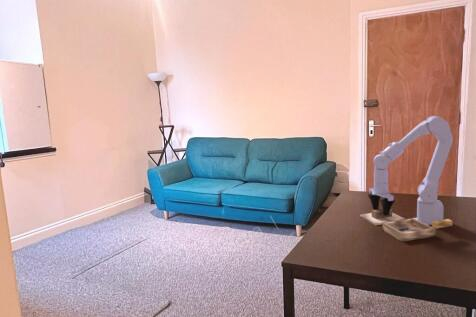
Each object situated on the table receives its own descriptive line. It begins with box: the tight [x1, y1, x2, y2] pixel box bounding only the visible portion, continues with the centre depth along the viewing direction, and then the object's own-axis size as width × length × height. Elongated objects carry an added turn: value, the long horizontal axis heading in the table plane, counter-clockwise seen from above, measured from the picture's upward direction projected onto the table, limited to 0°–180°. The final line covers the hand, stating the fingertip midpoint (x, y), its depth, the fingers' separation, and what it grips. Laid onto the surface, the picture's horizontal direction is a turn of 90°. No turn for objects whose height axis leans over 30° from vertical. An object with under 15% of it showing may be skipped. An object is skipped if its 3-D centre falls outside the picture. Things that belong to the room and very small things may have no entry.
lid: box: [359, 208, 406, 226], centre depth 148 cm, size 14×15×4 cm
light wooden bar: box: [431, 218, 453, 229], centre depth 126 cm, size 7×2×2 cm, turn 101°
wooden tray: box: [382, 217, 436, 242], centre depth 133 cm, size 14×12×3 cm
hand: (380, 212), depth 149 cm, fingers open, 7 cm apart
